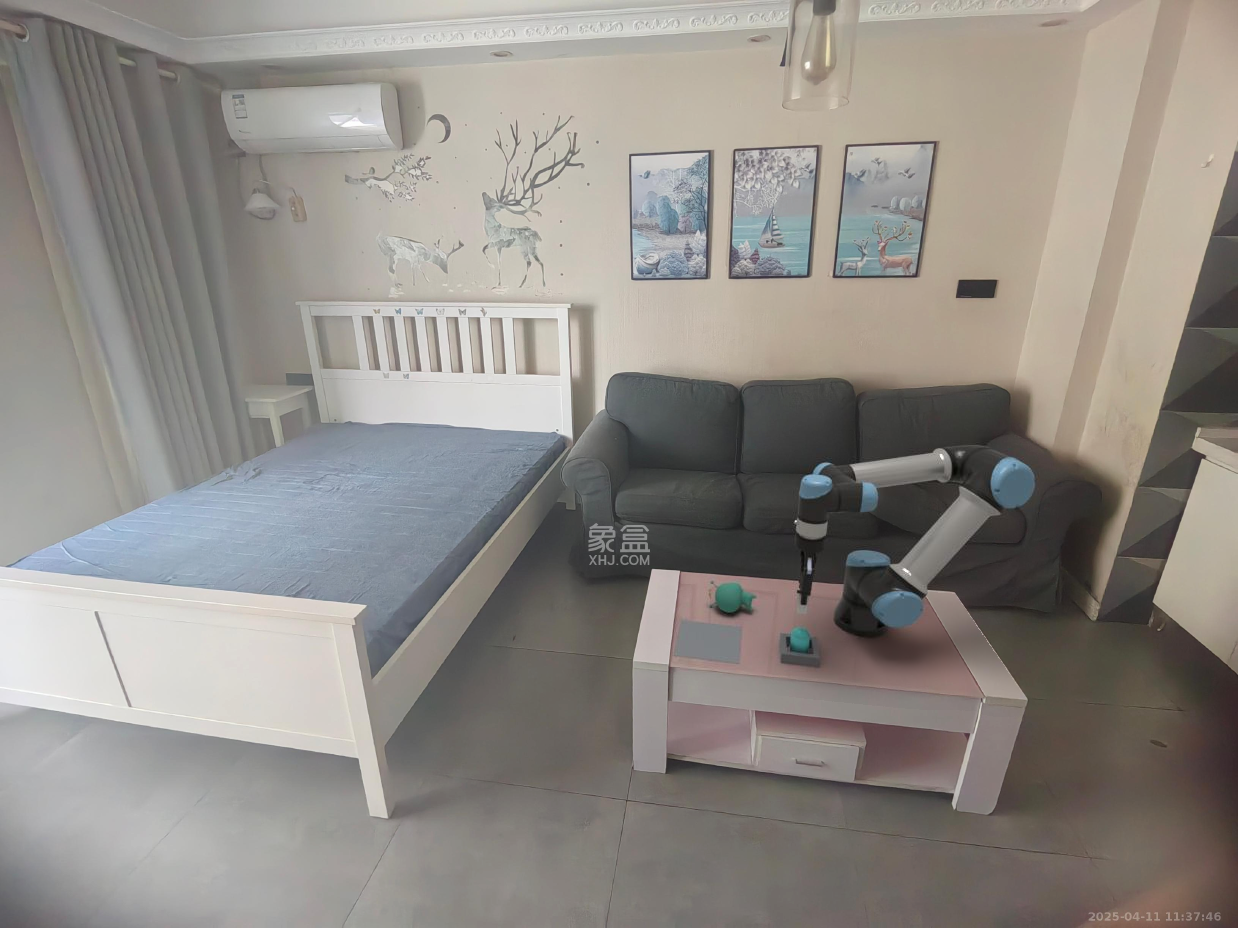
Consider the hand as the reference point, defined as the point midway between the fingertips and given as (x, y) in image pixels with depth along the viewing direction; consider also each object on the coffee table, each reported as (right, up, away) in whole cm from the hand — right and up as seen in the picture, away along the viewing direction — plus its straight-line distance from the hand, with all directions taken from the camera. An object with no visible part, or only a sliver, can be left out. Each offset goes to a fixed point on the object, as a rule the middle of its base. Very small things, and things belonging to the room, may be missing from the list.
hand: (801, 612), depth 167 cm
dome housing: (0, -13, +4) cm, 13 cm away
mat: (-24, -11, +10) cm, 28 cm away
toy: (-8, -3, +22) cm, 24 cm away
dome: (0, -11, +4) cm, 12 cm away
